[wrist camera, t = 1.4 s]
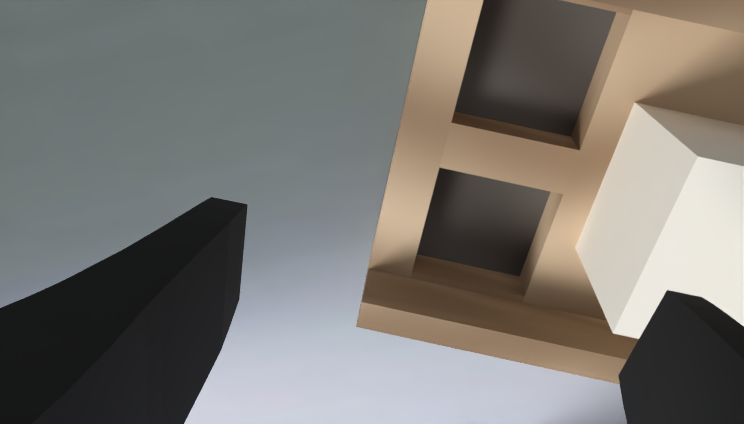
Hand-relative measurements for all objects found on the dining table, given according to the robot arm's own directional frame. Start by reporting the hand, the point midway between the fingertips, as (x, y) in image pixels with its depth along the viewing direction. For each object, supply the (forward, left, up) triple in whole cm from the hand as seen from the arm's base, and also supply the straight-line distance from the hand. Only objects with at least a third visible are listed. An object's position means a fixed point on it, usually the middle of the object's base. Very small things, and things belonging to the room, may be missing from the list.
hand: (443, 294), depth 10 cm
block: (0, -8, -9) cm, 12 cm away
